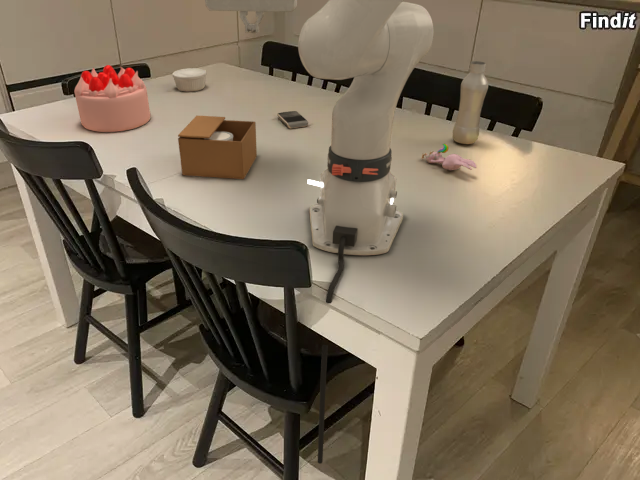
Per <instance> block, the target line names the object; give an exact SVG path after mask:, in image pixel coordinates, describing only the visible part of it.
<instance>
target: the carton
mask: <svg viewBox="0 0 640 480" xmlns="http://www.w3.org/2000/svg"><path fill="white" fill-rule="evenodd" d="M256 126H257V125H256V121H253V120H251V121H249V120H234V119H233V120H231V119H230V120H229V119H224V121H223V122H222V123H221V124H220V126H219V127H218V128H217V129H216V131H215V132H217V131H224V132H229V133H231V134H233V141H222V140H205V139H204V138H192V137H178V138H177V141H178V143H177V144H178V149H179V158H180V167H181V175H182V176H191V177H202V178H203V177H205V178H217V179H218V178H220V179H221V178H222V179H234V180H245V178H246V176H247V174H248V173H249V171H250V169H251V167H252V166H253V164H254V163H255V160H256V159H257V157H258V155H257V154H258V153H257V152H258V151H257V149H258V148H257V127H256Z"/></svg>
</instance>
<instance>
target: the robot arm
mask: <svg viewBox="0 0 640 480" xmlns="http://www.w3.org/2000/svg"><path fill="white" fill-rule="evenodd" d="M204 3H205V7H206V8H207V10H208V11H210V12H238V13H239V19H240V20H241V22H242V23H243V25H244V32H245V34H259V33H260V24H261V22H262V20H263V18H264V15H265V12H266V13H269V12H270V13H292V12H294V11H295V10H296V8H297V6H298V0H204ZM248 12H255V17H256V18H257V19H256V21H255V23H250V22H249V20H248V17H247V16H248V14H249V13H248ZM434 35H435V30H434V22H433V20H432V17H431V14H430V13H429V11H428V9H426V7H424V6H422V5H421V4H417V3H414V2H413V3H412V2H407V1H405V0H328V1H326V3H325V4H324V5H323V6H322V7H321V8H320V9H319V10H318V11H317V12H316V13H314V14H313V15H311V16H310V17H309V18H307V19H306V21H305V22H304V23H303V25H302V27H301V29H300V32H299V36H298V42H297V49H298V55H299V58H300V61H301V64H302V66H303V67H304V69H305V70H306V72H307V73H308V74H309V75H310V76H312V77H313V78H315V79H319V80H336V81H342V80H347V79H352V78H353V80H352V81H351V84H350V85H349V87H348V89H347V90H346V91H345V92H344V93H343V94H342V95H341V96H340V97H339V98H338V99H337V101H336V102H335V103H334V105H333V108H332V112H331V132H330V133H331V135H330V146H329V147H328V152H327V168H326V169H325V170H323V171H322V172H321V173H320V181H317V180H314V179H307V185H312V186H315V187H319V188H320V189H319V197H317V199H316V204H313V205H311V206H310V207H309V211H308V212H309V221H310V223H309V224H310V230H311V231H310V232H311V240H312V241H311V242H312V245H313V247H315V248H317V249H318V250H322V251H325V252H328V253H333V254H337V261H338V262H337V263H338V267H337V270H336V272H335V274H334V276H333V278H332V280H331V281H330V283H329V285H328V289H327V292H326V297H325V303H326V304H332V302H333V297H334V292H335V289H336V286H337V284H338V282H339V281H340V278H341V276H342V274H343V273H344V269H345V259H344V258H345V255H347V256H348V255H349V256H375V255H383V254H386V253H388V252H389V251H390V249H391V247H392V244H393V243H394V240H395V238H396V235H397V233H398V231H399V229H400V226H401V224H402V222H403V220H404V214H403V212H402V211H400V210H398V209H397V205H395V202H396V198H397V196H398V191H397V190H396V189H397V177H395V175H393V173H392V172H391V166H392V160H393V158H392V157H393V156H392V155H393V151H392V148H391V140H392V132H393V126H394V118H395V113H396V108H397V105H398V102H399V99H400V96H401V94H402V92H403V89H404V87H405V86H406V83H407V81H408V80H409V77H410V76H411V74H412V72H413V70H414V69H415V67H417V65H418V64H419V63H420V61H422V60H423V59H424V58H425V57H426V56H427V54H428V53H429V51H430V50H431V48H432V46H433V41H434ZM328 349H329V344H322V345H321V360H320V361H321V363H320V379H319V381H320V382H319V383H320V384H319V407H318V409H319V410H318V439H317V440H318V442H317V443H318V444H317V463H318V464H320V465H321V464H323V461H324V459H323V458H324V438H325V411H326V391H327V390H326V388H327V387H326V386H327V369H328V352H329V350H328Z"/></svg>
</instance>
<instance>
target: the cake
mask: <svg viewBox="0 0 640 480" xmlns="http://www.w3.org/2000/svg"><path fill="white" fill-rule="evenodd" d="M74 96H75V101H76V106H77V110H78V111H77V112H78V116H79V120H80V124H81V125H82V127H83V128H85V129H86V130H89V131H93V132H100V133H101V132H102V133H114V132H115V133H116V132H123V131H128V130H132V129H134V130H135V129H136V128H140V127H142V126H145V124H148V122H149V121H150V120H151V111H150V103H149V97H148V96H149V95H148V90H147V85H146V84H145V82H144V81H143V79H141V78H140V77H139V71H138V70H136V71H135V70H134V69H133V68H132V67H126V68H123V67H122V66H120V70H119V72H118V73H117V72H116V70H115V69H114V68H113V66H112V65H110V64H106V65H105V66H104V67H103V70H102V71H99V72H98V73H97V71H96V70H95V67H92V68H91V72H90V71H89V70H84V71H82V72H81V75H80V78H79V80H78V82H77V84H76V85H75V87H74Z"/></svg>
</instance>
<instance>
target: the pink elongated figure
mask: <svg viewBox="0 0 640 480" xmlns="http://www.w3.org/2000/svg"><path fill="white" fill-rule="evenodd" d="M442 145H443V147H441V148H439V149H438V150H437V151H434V150H433V151H429V153H428V154H427V153H426V152H425V153H423V154H421V159H425V161H426V162H427V163H428V164H438V165H442V168H443V169H444V170H446V171H451V172H452V171H455V170H458V169H460V168H461V167H465V168H466V169H468V170H470V171H471V170H473V168H474V169H477V164H476V162H475V161H474V160H472V159H469V158H464V157H462V156H461V155H459V154H457V153H450V154H448V155H446V157H444V156H443V154H445V153H447V152H449V145H448V144H446V143H442Z"/></svg>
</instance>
